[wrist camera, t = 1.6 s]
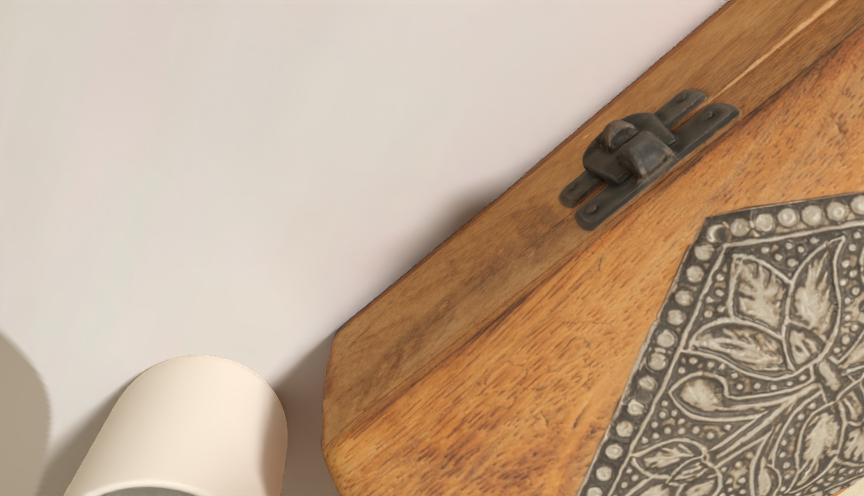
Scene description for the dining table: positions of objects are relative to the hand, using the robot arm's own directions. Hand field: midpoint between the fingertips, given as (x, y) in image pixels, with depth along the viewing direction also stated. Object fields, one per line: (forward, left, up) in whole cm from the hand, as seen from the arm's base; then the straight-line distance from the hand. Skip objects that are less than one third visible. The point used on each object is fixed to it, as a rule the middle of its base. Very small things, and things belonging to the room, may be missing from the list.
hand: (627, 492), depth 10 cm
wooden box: (+11, -3, -26) cm, 28 cm away
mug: (-10, -17, -26) cm, 32 cm away
